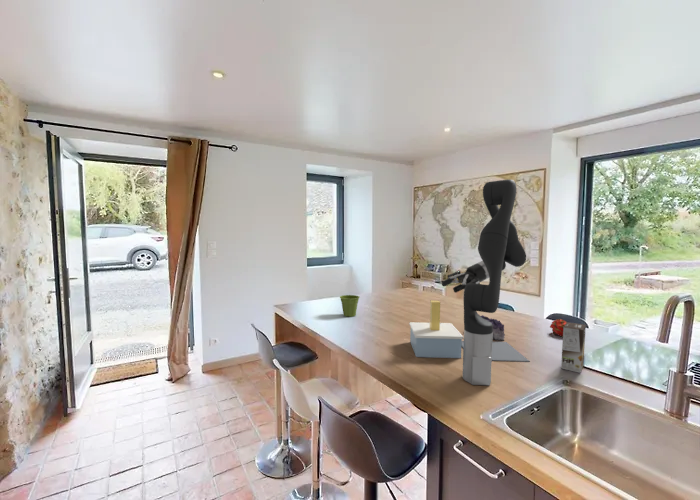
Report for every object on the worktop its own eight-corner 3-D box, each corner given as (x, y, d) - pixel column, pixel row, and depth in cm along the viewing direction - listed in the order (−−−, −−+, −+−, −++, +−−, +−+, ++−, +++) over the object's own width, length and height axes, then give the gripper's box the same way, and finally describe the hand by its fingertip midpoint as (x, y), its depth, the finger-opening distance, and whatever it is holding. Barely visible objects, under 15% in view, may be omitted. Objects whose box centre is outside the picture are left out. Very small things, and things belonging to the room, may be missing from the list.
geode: (514, 339, 160) (513, 319, 158) (495, 345, 156) (494, 325, 154) (482, 326, 178) (481, 308, 177) (464, 331, 174) (464, 312, 173)
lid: (463, 339, 135) (464, 307, 134) (415, 338, 136) (416, 306, 135) (451, 325, 154) (452, 297, 153) (409, 324, 155) (409, 296, 154)
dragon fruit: (553, 334, 173) (570, 345, 161) (541, 325, 171) (558, 336, 160) (564, 321, 172) (582, 332, 160) (553, 312, 170) (570, 322, 159)
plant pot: (363, 314, 202) (363, 296, 201) (352, 319, 192) (352, 299, 191) (346, 312, 208) (346, 293, 207) (335, 316, 198) (335, 297, 197)
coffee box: (581, 373, 122) (583, 330, 121) (560, 368, 126) (562, 326, 125) (583, 365, 130) (586, 324, 128) (564, 361, 134) (566, 321, 132)
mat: (529, 361, 133) (529, 360, 133) (472, 360, 134) (472, 359, 134) (506, 342, 155) (506, 341, 155) (457, 341, 156) (457, 340, 156)
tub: (461, 358, 136) (461, 338, 135) (416, 356, 137) (416, 337, 136) (449, 342, 154) (450, 325, 153) (410, 341, 155) (410, 324, 154)
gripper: (468, 259, 146) (436, 274, 143) (490, 267, 132) (455, 284, 129) (472, 275, 148) (440, 290, 145) (494, 284, 135) (460, 301, 131)
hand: (448, 287), depth 137 cm, fingers open, 8 cm apart
